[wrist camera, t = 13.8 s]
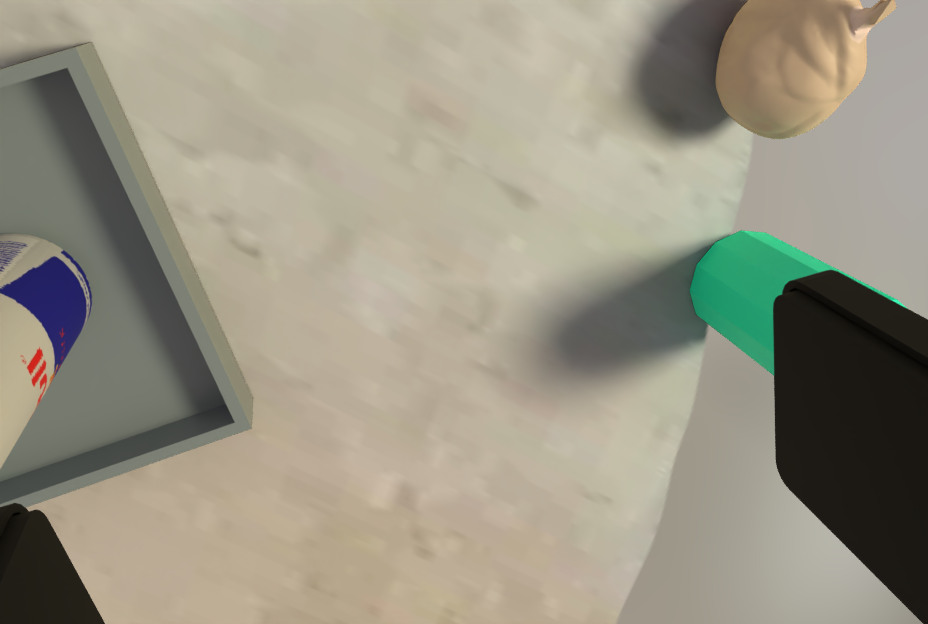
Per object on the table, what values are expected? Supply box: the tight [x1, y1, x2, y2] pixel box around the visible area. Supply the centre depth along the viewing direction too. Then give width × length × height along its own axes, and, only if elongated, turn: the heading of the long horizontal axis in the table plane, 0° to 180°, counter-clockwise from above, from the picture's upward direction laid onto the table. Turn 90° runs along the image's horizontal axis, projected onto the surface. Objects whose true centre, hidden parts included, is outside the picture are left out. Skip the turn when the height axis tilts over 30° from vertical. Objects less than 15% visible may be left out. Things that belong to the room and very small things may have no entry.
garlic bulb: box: [716, 0, 896, 139], centre depth 35 cm, size 7×6×8 cm
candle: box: [690, 230, 906, 375], centre depth 39 cm, size 6×6×12 cm
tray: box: [0, 42, 253, 508], centre depth 34 cm, size 18×14×3 cm
